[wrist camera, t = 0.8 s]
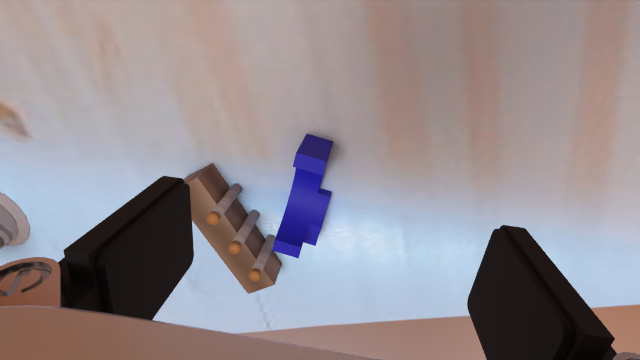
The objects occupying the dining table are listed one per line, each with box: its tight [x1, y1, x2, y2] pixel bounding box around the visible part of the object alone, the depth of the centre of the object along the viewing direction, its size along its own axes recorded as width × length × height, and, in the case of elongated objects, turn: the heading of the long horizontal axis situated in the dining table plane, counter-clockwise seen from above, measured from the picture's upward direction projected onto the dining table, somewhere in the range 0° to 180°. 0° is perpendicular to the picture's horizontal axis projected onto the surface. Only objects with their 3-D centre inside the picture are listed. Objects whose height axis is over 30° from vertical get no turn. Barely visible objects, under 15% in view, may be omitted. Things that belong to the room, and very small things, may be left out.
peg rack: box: [184, 163, 282, 294], centre depth 40 cm, size 5×16×7 cm, turn 29°
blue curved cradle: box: [272, 134, 333, 258], centre depth 38 cm, size 12×4×6 cm, turn 165°
